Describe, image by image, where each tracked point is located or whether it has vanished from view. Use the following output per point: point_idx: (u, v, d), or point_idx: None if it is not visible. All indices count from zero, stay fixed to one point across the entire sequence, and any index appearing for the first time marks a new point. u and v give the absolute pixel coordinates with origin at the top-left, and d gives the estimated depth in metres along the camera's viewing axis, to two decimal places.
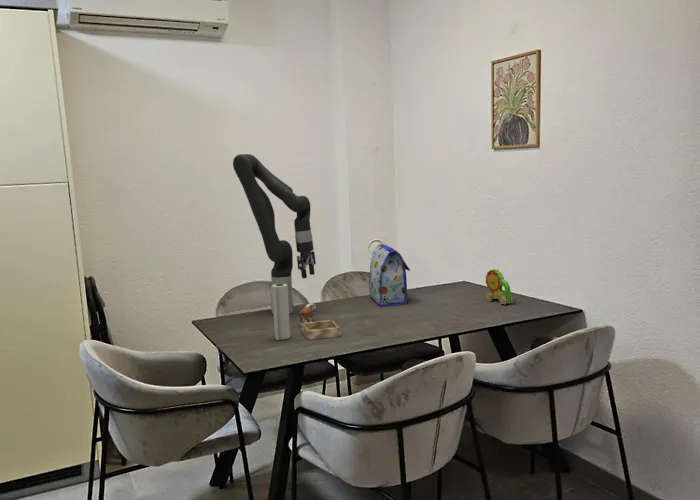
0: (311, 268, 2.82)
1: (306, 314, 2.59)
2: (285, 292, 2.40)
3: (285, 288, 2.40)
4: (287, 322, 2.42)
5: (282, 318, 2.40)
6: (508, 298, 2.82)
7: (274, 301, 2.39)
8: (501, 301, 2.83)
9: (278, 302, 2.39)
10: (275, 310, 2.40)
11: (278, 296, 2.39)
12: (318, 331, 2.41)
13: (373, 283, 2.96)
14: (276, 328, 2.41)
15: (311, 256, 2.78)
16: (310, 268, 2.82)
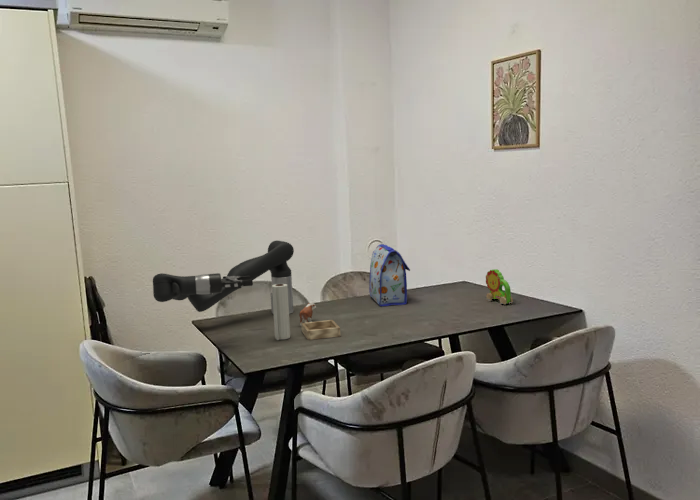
0: (242, 279, 2.41)
1: (306, 314, 2.59)
2: (285, 292, 2.40)
3: (285, 288, 2.40)
4: (287, 322, 2.42)
5: (282, 318, 2.40)
6: (508, 298, 2.82)
7: (274, 301, 2.39)
8: (501, 301, 2.83)
9: (278, 302, 2.39)
10: (275, 310, 2.40)
11: (278, 296, 2.39)
12: (318, 331, 2.41)
13: (373, 283, 2.96)
14: (276, 328, 2.41)
15: (227, 276, 2.37)
16: (242, 280, 2.41)
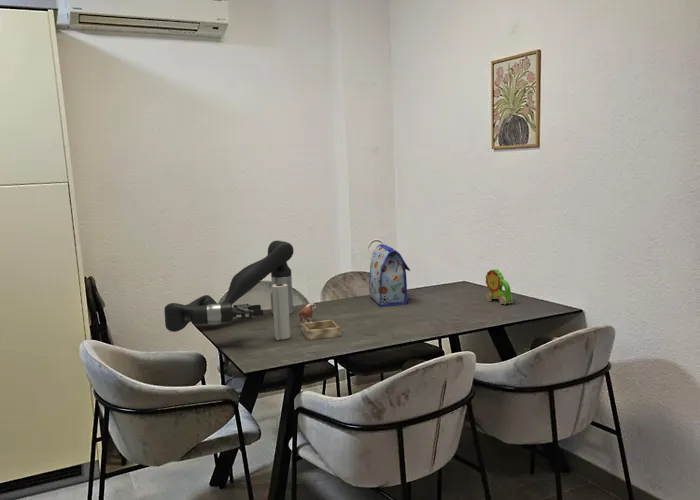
0: (253, 307, 2.43)
1: (306, 314, 2.59)
2: (285, 292, 2.40)
3: (285, 288, 2.40)
4: (287, 322, 2.42)
5: (282, 318, 2.40)
6: (508, 298, 2.82)
7: (274, 301, 2.39)
8: (501, 301, 2.83)
9: (278, 302, 2.39)
10: (275, 310, 2.40)
11: (278, 296, 2.39)
12: (318, 331, 2.41)
13: (373, 283, 2.96)
14: (276, 328, 2.41)
15: (238, 305, 2.39)
16: (253, 309, 2.43)
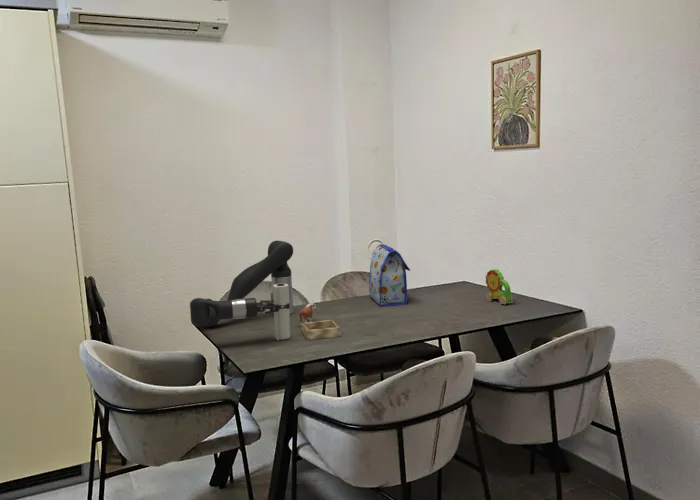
0: None
1: (306, 314, 2.59)
2: (286, 292, 2.40)
3: (286, 288, 2.39)
4: (287, 322, 2.42)
5: (282, 318, 2.40)
6: (508, 298, 2.82)
7: (275, 301, 2.39)
8: (501, 301, 2.83)
9: (279, 302, 2.39)
10: None
11: (279, 296, 2.39)
12: (318, 331, 2.41)
13: (373, 283, 2.96)
14: (276, 328, 2.41)
15: (262, 301, 2.42)
16: None
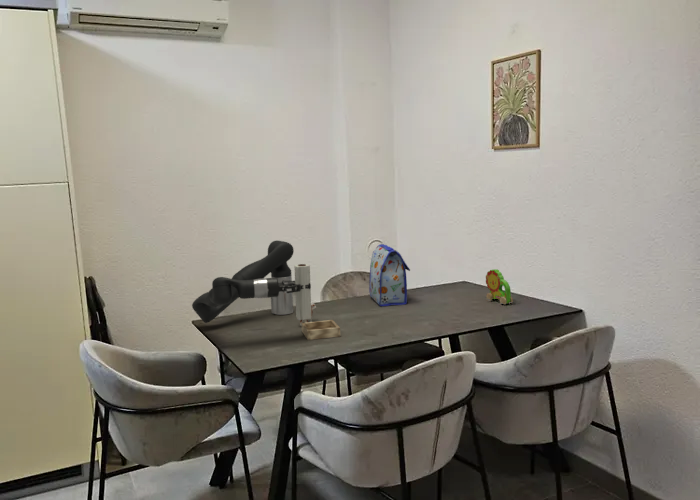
0: None
1: None
2: (307, 272, 2.40)
3: (307, 268, 2.40)
4: (309, 302, 2.42)
5: (303, 298, 2.40)
6: (508, 298, 2.82)
7: (296, 281, 2.40)
8: (501, 301, 2.83)
9: (300, 282, 2.39)
10: None
11: (300, 276, 2.39)
12: (318, 331, 2.41)
13: (373, 283, 2.96)
14: (298, 308, 2.41)
15: (284, 281, 2.42)
16: None
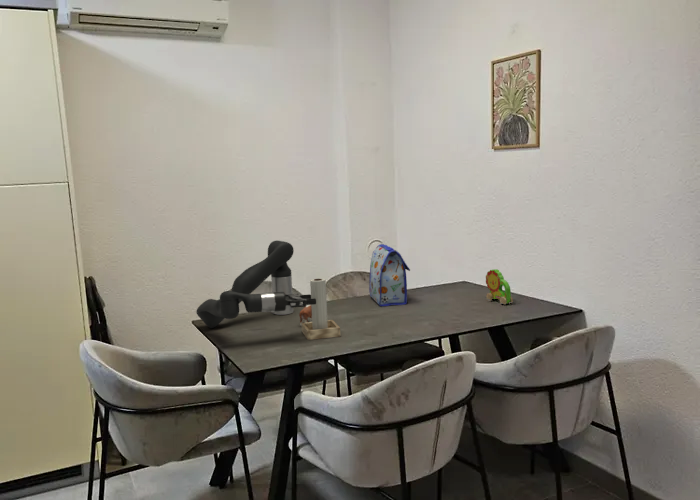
0: (304, 297, 2.47)
1: (306, 314, 2.59)
2: (323, 287, 2.43)
3: (323, 283, 2.43)
4: (325, 316, 2.45)
5: (320, 313, 2.43)
6: (508, 298, 2.82)
7: (313, 295, 2.43)
8: (501, 301, 2.83)
9: (316, 296, 2.42)
10: (313, 304, 2.43)
11: (317, 290, 2.42)
12: (318, 331, 2.41)
13: (373, 283, 2.96)
14: (314, 322, 2.44)
15: (290, 295, 2.43)
16: (304, 298, 2.48)
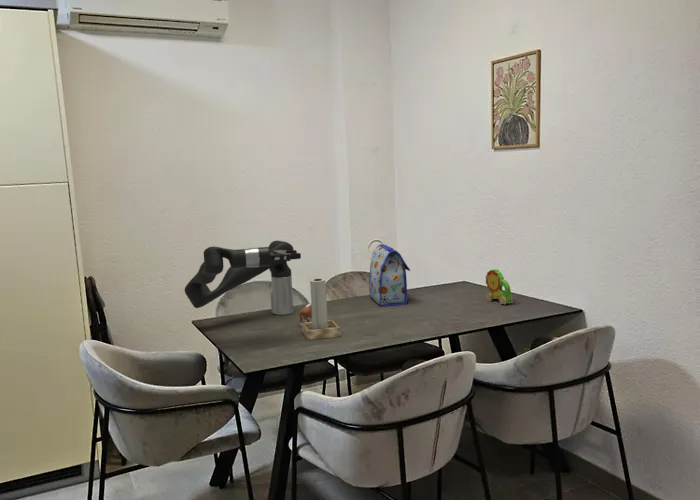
0: (289, 253, 2.46)
1: (306, 314, 2.59)
2: (323, 287, 2.43)
3: (323, 283, 2.43)
4: (325, 316, 2.45)
5: (320, 313, 2.43)
6: (508, 298, 2.82)
7: (312, 296, 2.42)
8: (501, 301, 2.83)
9: (316, 297, 2.42)
10: (313, 305, 2.42)
11: (316, 291, 2.42)
12: (318, 331, 2.41)
13: (373, 283, 2.96)
14: (314, 322, 2.44)
15: (275, 250, 2.42)
16: (289, 254, 2.46)
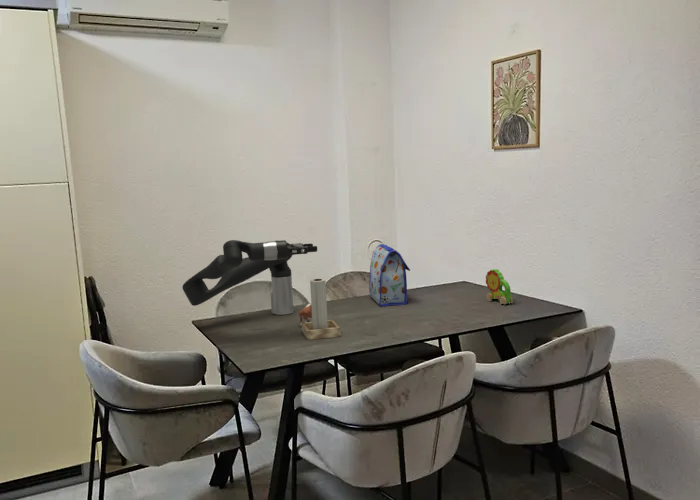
0: (305, 246, 2.53)
1: (306, 314, 2.59)
2: (323, 287, 2.43)
3: (323, 283, 2.43)
4: (325, 316, 2.45)
5: (320, 313, 2.43)
6: (508, 298, 2.82)
7: (312, 296, 2.42)
8: (501, 301, 2.83)
9: (316, 297, 2.42)
10: (313, 305, 2.42)
11: (316, 291, 2.42)
12: (318, 331, 2.41)
13: (373, 283, 2.96)
14: (314, 322, 2.44)
15: None
16: None
